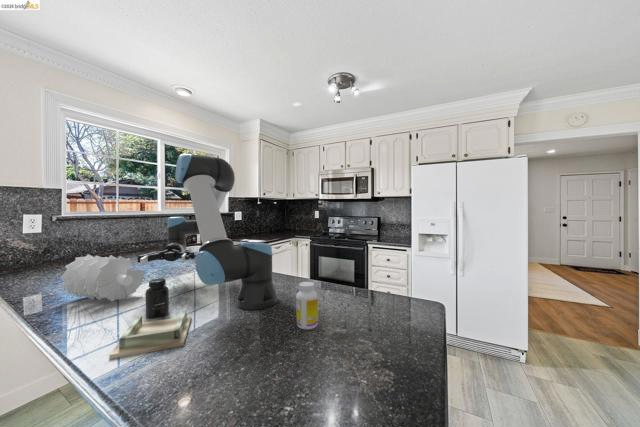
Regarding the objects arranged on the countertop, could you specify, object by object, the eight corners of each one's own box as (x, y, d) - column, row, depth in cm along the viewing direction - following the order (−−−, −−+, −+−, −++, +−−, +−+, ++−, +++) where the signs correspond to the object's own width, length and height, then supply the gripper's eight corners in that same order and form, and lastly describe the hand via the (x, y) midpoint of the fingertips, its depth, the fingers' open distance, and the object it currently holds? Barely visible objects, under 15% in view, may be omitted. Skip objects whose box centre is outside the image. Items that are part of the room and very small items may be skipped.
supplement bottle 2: (321, 322, 81) (320, 281, 80) (313, 331, 74) (313, 288, 74) (301, 319, 83) (301, 280, 83) (292, 328, 77) (292, 286, 76)
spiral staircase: (116, 314, 99) (69, 305, 105) (153, 283, 114) (110, 277, 120) (94, 277, 91) (45, 270, 97) (137, 249, 106) (92, 244, 112)
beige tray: (133, 327, 79) (133, 315, 79) (191, 318, 84) (191, 308, 84) (109, 359, 62) (108, 344, 62) (183, 345, 68) (183, 332, 68)
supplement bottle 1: (158, 319, 84) (157, 283, 84) (140, 318, 85) (139, 282, 85) (173, 311, 91) (173, 277, 91) (157, 310, 92) (156, 277, 92)
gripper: (203, 257, 122) (199, 268, 102) (141, 262, 113) (123, 274, 93) (202, 242, 121) (198, 249, 101) (140, 245, 113) (122, 253, 93)
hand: (162, 261), depth 97 cm, fingers open, 13 cm apart
